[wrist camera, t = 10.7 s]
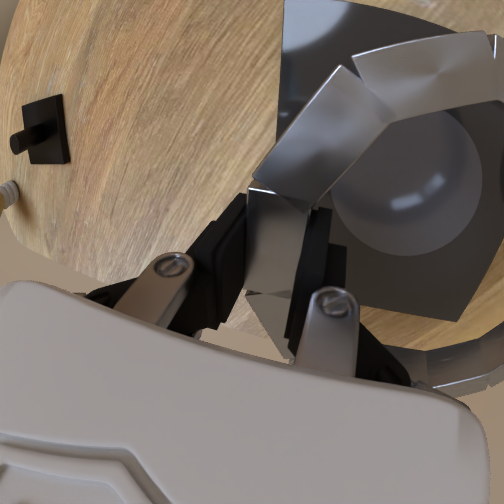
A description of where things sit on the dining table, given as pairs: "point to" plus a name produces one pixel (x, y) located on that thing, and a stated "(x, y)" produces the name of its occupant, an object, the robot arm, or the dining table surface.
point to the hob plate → (401, 171)
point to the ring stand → (43, 132)
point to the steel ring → (344, 156)
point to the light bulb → (8, 195)
